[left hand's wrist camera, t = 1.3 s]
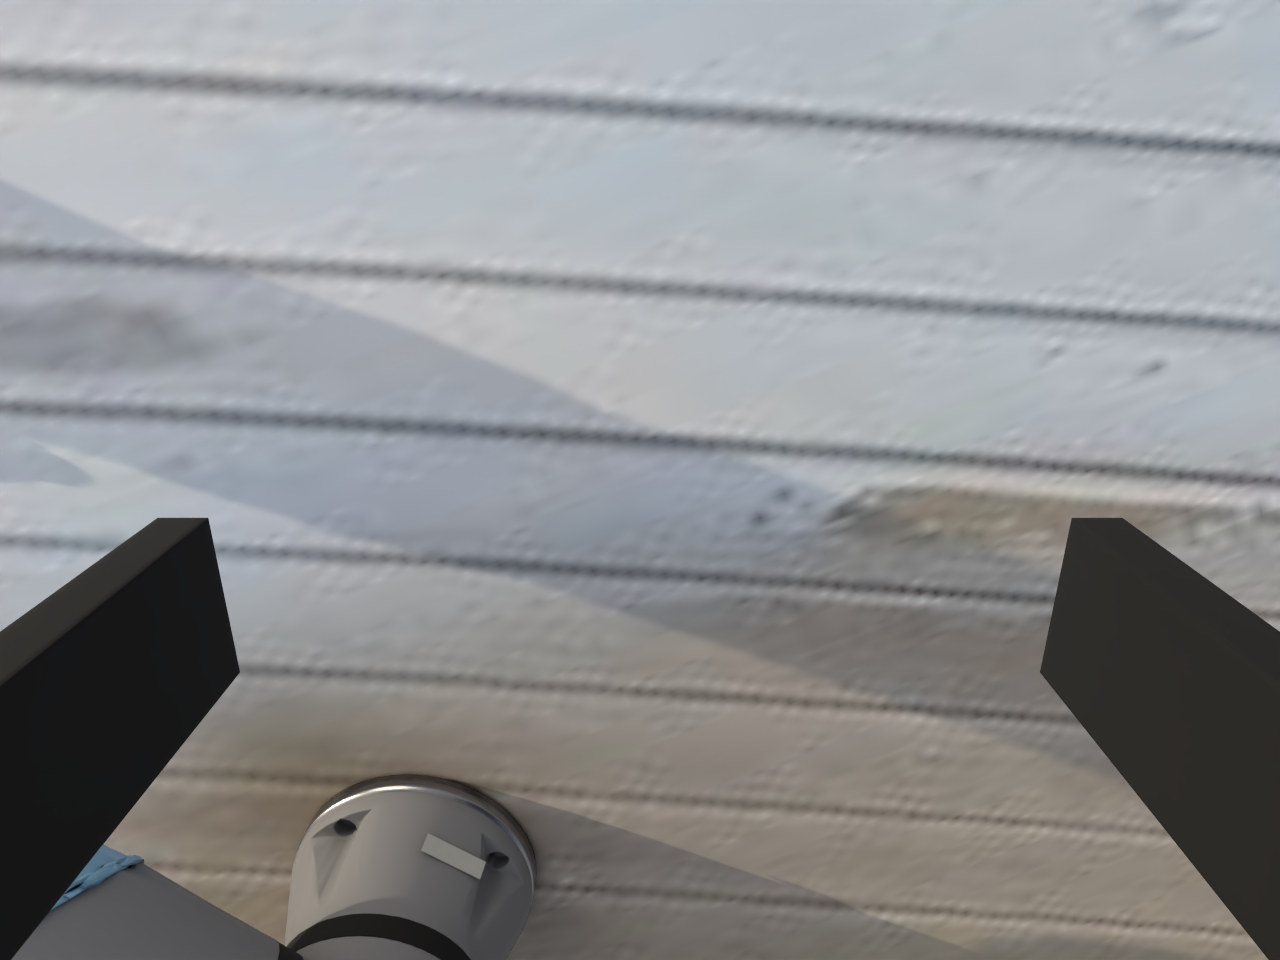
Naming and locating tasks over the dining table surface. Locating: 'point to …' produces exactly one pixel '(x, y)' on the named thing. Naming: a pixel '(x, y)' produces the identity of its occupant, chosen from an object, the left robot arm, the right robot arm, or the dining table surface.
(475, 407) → the dining table surface
